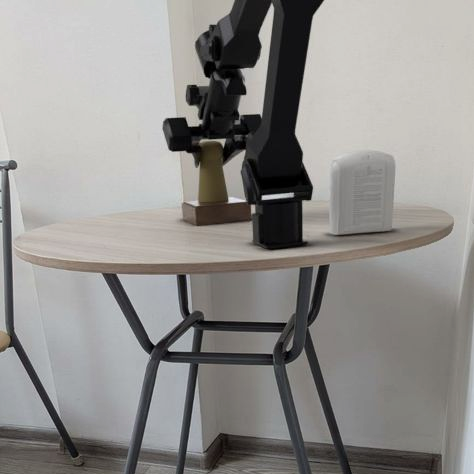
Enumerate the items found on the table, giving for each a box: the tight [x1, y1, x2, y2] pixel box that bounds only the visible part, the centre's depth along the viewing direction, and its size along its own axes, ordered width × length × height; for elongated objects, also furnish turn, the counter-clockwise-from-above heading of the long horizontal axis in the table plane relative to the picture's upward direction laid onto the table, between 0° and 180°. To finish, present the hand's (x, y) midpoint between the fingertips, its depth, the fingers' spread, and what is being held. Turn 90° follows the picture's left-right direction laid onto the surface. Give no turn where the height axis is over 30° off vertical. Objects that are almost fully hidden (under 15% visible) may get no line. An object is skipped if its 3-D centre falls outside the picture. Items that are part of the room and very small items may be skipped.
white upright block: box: [329, 150, 396, 236], centre depth 91 cm, size 10×4×12 cm, turn 104°
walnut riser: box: [181, 196, 252, 226], centre depth 114 cm, size 11×10×4 cm
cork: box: [197, 140, 229, 202], centre depth 112 cm, size 6×6×11 cm
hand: (208, 165), depth 113 cm, fingers closed on cork, 5 cm apart
